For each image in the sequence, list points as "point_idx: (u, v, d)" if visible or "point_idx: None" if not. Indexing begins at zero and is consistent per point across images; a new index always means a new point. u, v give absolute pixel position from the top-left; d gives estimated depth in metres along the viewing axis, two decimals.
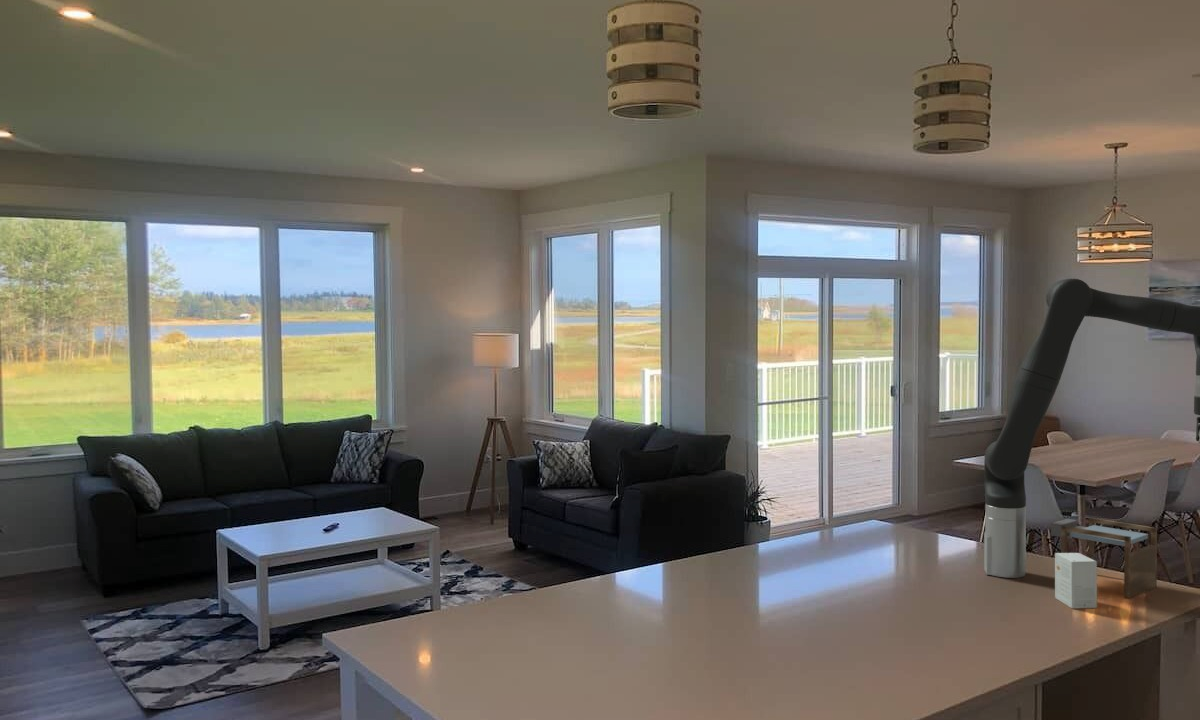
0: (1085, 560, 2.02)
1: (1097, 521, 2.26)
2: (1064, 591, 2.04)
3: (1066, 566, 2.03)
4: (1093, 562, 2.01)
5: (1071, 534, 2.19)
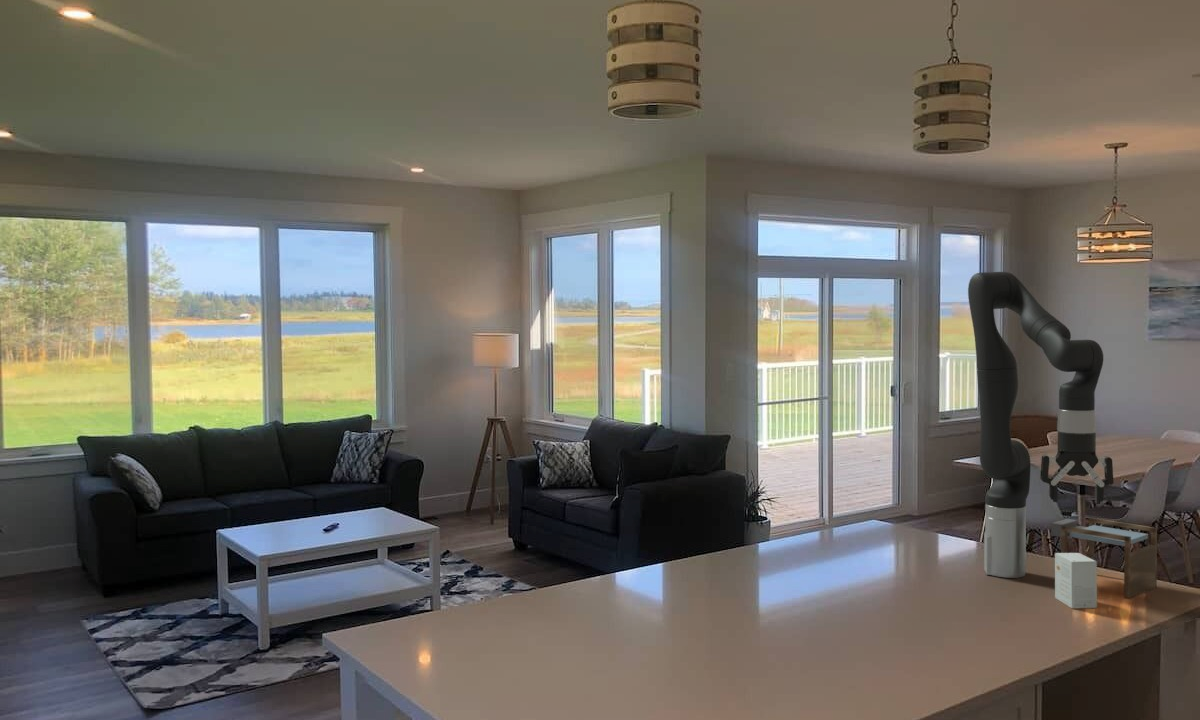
0: (1085, 560, 2.02)
1: (1097, 521, 2.26)
2: (1064, 591, 2.04)
3: (1066, 566, 2.03)
4: (1093, 562, 2.01)
5: (1071, 534, 2.19)
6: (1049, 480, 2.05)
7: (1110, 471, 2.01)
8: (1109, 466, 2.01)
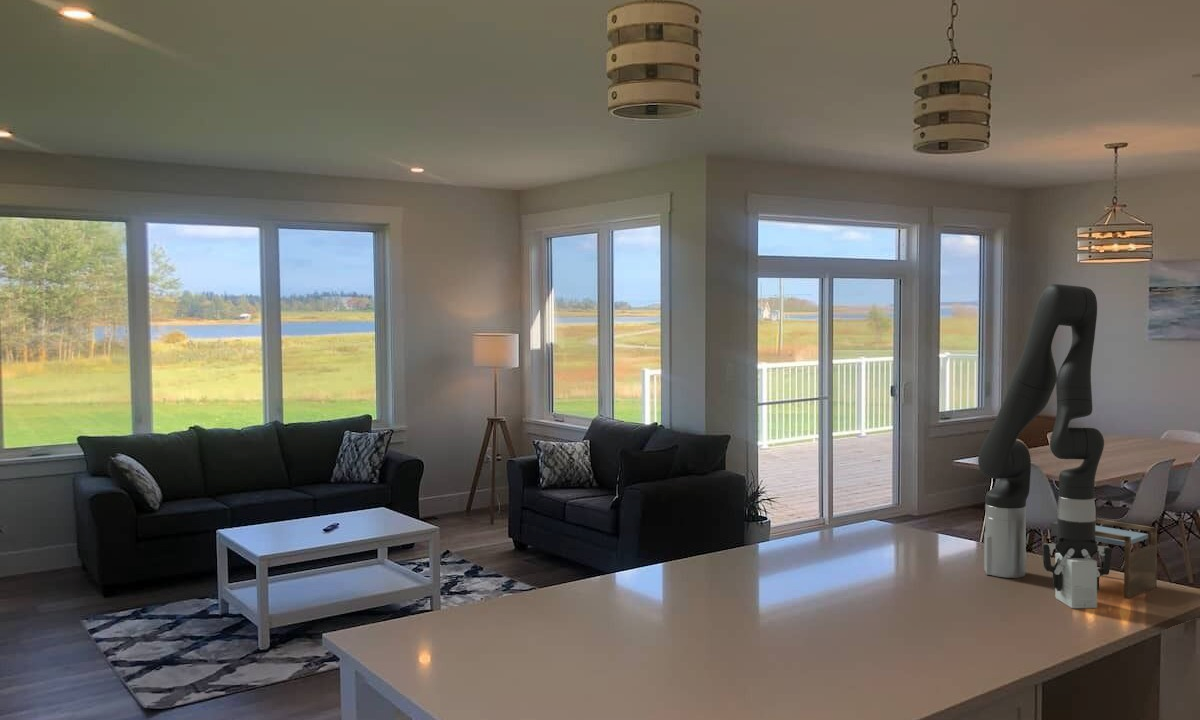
0: (1085, 560, 2.01)
1: (1097, 521, 2.26)
2: (1064, 591, 2.04)
3: (1066, 566, 2.03)
4: (1093, 562, 2.01)
5: None
6: (1052, 569, 2.05)
7: (1108, 561, 2.02)
8: (1107, 556, 2.02)
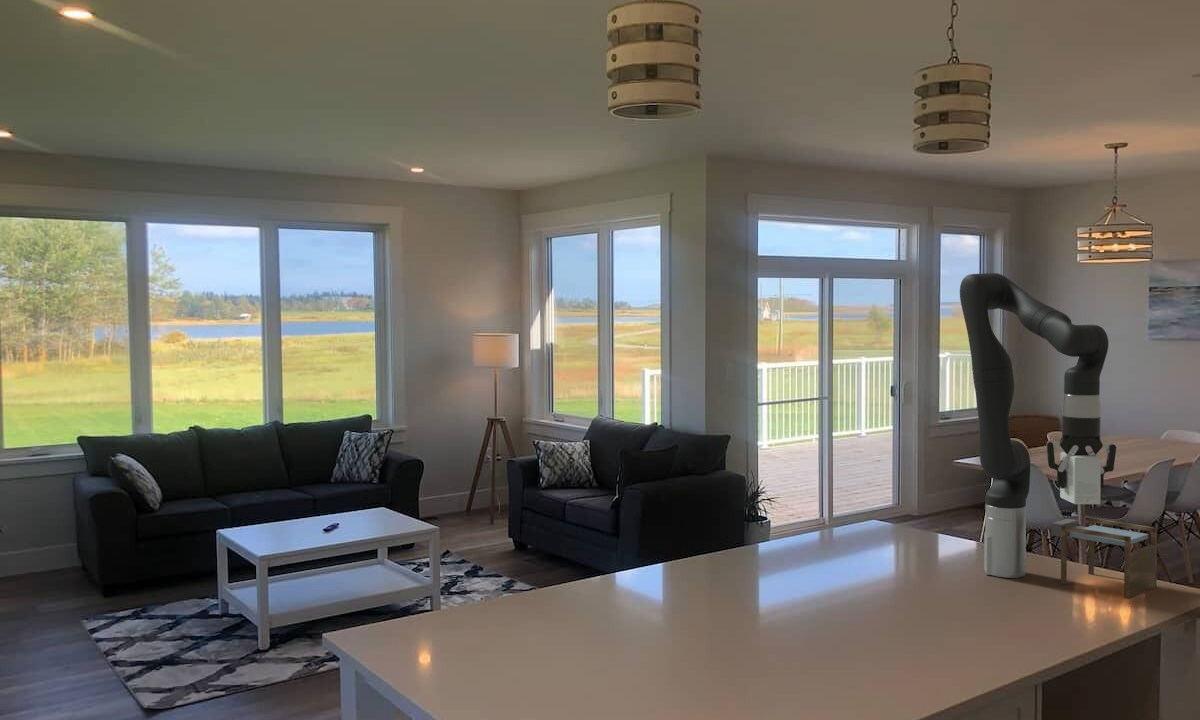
0: (1089, 456, 2.02)
1: (1097, 521, 2.26)
2: (1068, 488, 2.05)
3: (1070, 463, 2.04)
4: (1097, 458, 2.01)
5: (1071, 534, 2.19)
6: (1056, 467, 2.06)
7: (1112, 458, 2.01)
8: (1112, 453, 2.01)
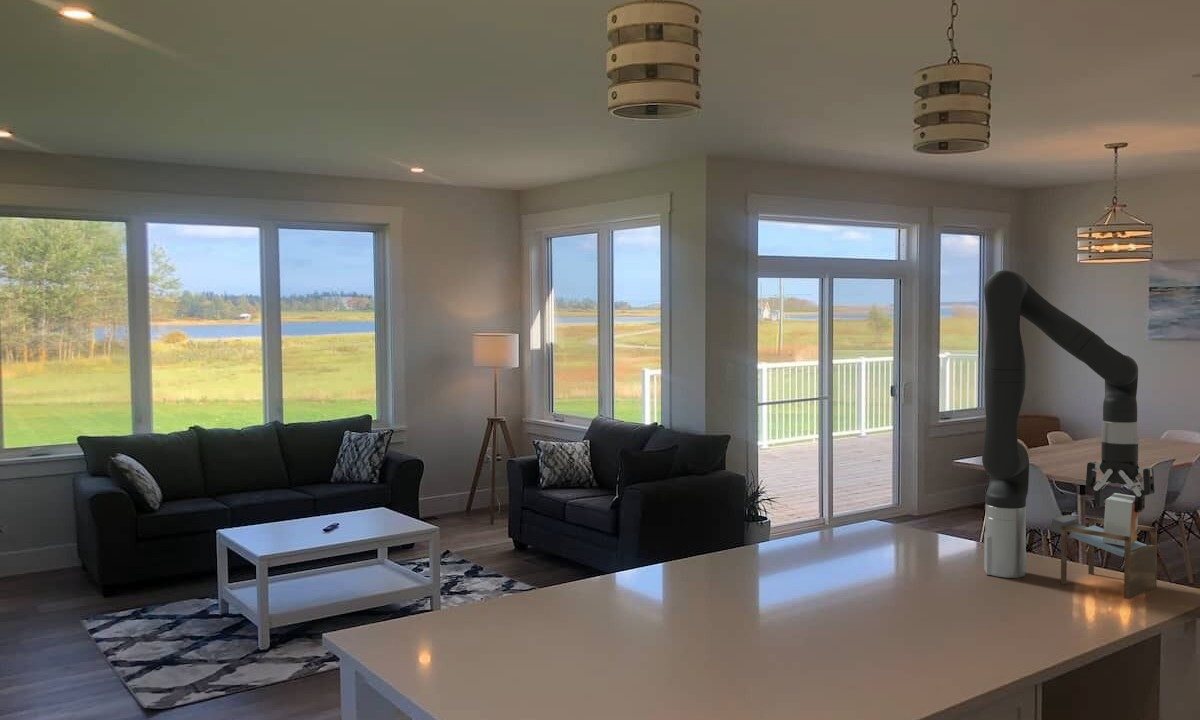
0: (1122, 500, 2.12)
1: (1097, 521, 2.26)
2: None
3: None
4: (1128, 503, 2.10)
5: (1071, 534, 2.19)
6: (1093, 485, 2.19)
7: (1147, 482, 2.09)
8: (1146, 477, 2.10)
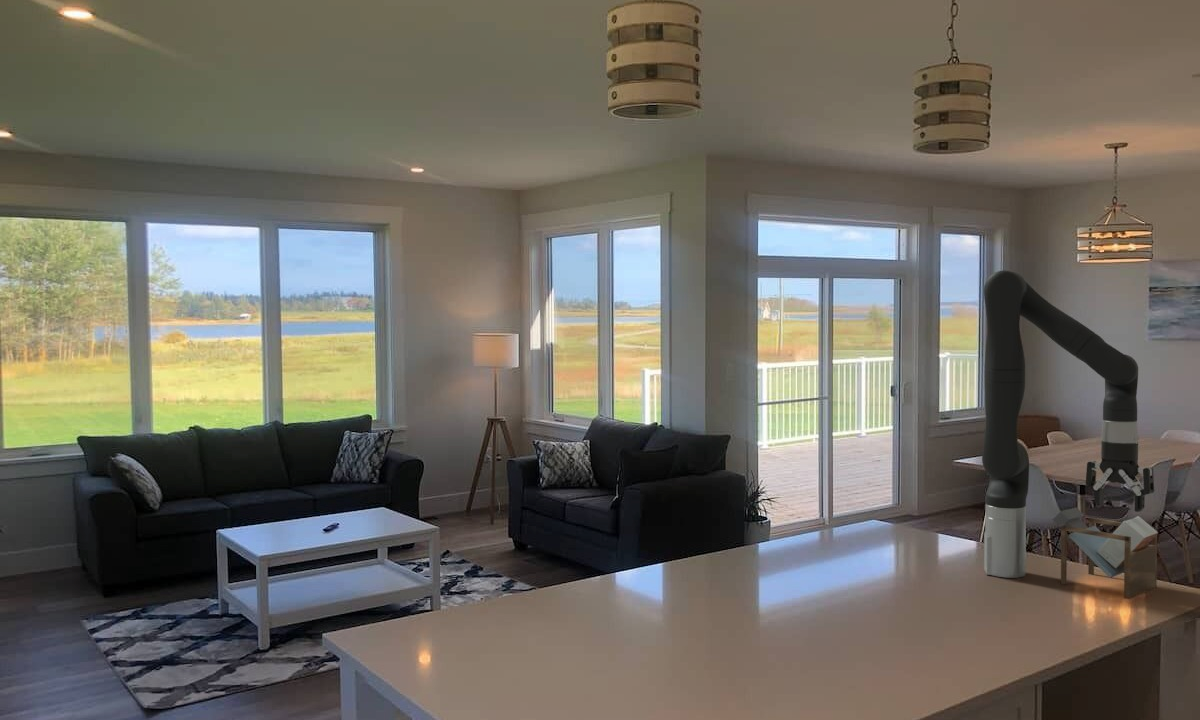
0: (1138, 530, 2.10)
1: (1097, 521, 2.26)
2: None
3: None
4: (1141, 536, 2.09)
5: (1071, 535, 2.19)
6: (1093, 485, 2.19)
7: (1146, 481, 2.09)
8: (1146, 476, 2.10)
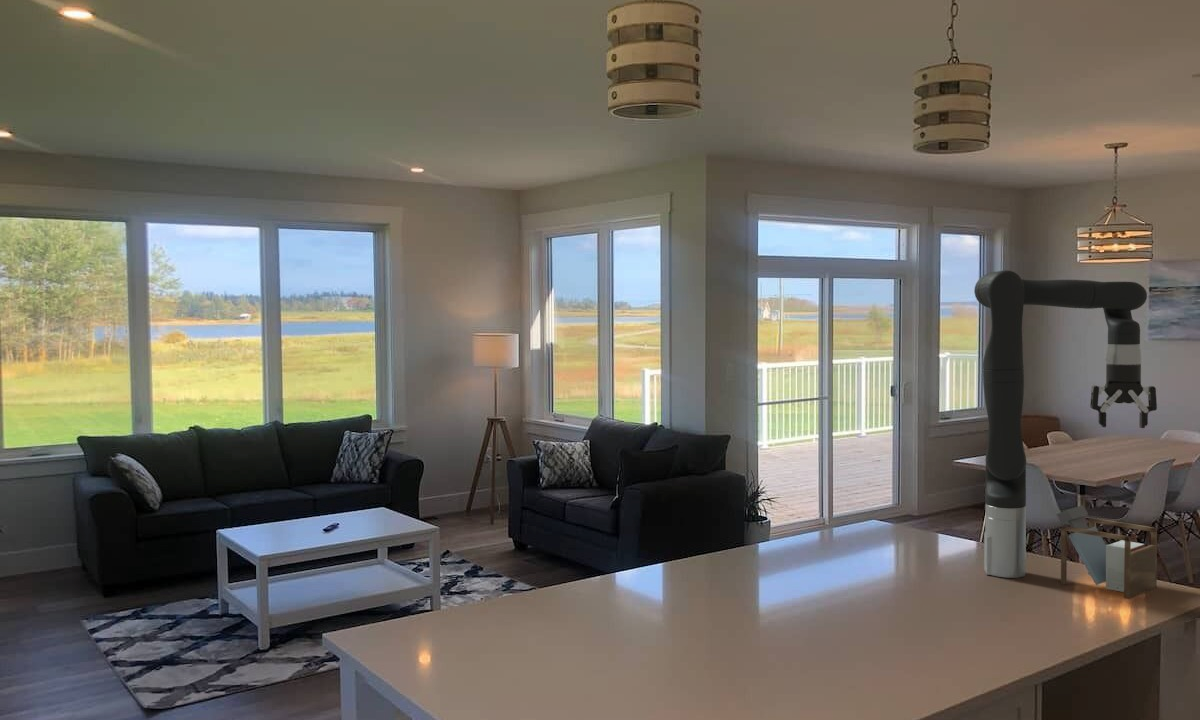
0: (1122, 546, 2.13)
1: (1097, 521, 2.26)
2: None
3: None
4: None
5: (1070, 536, 2.19)
6: (1098, 407, 2.30)
7: (1154, 398, 2.26)
8: (1153, 394, 2.26)
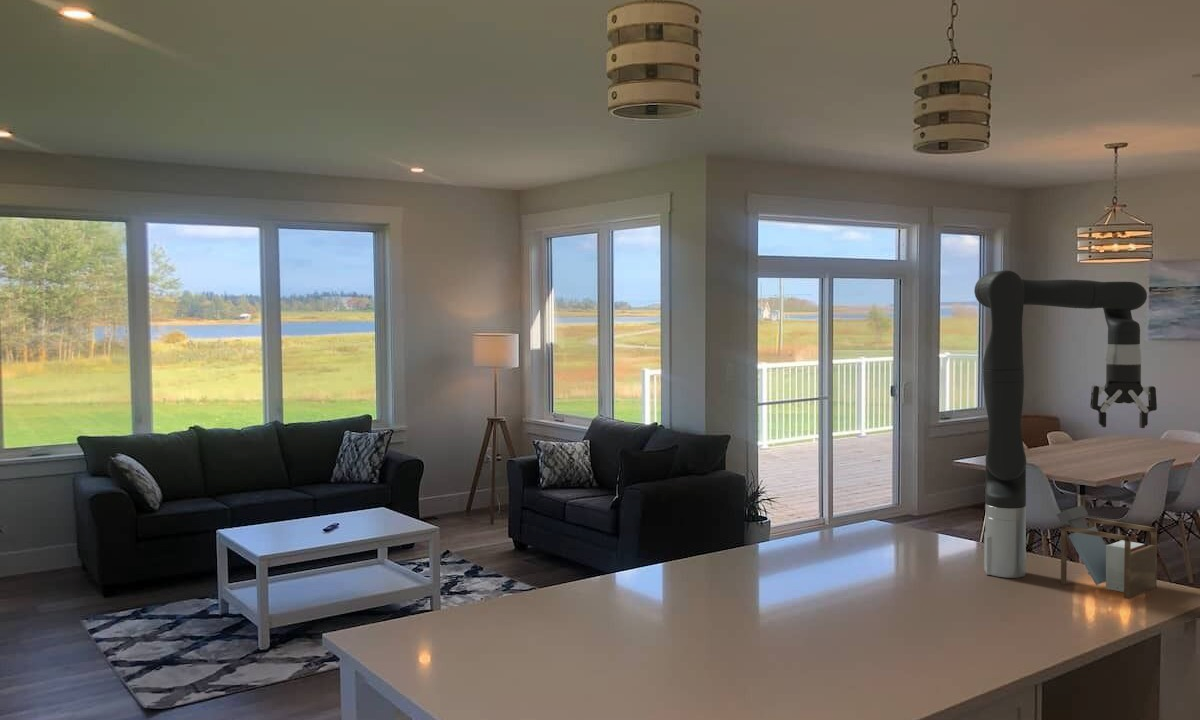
0: (1122, 546, 2.13)
1: (1097, 521, 2.26)
2: None
3: None
4: None
5: (1070, 536, 2.19)
6: (1098, 407, 2.30)
7: (1154, 398, 2.26)
8: (1153, 394, 2.26)
